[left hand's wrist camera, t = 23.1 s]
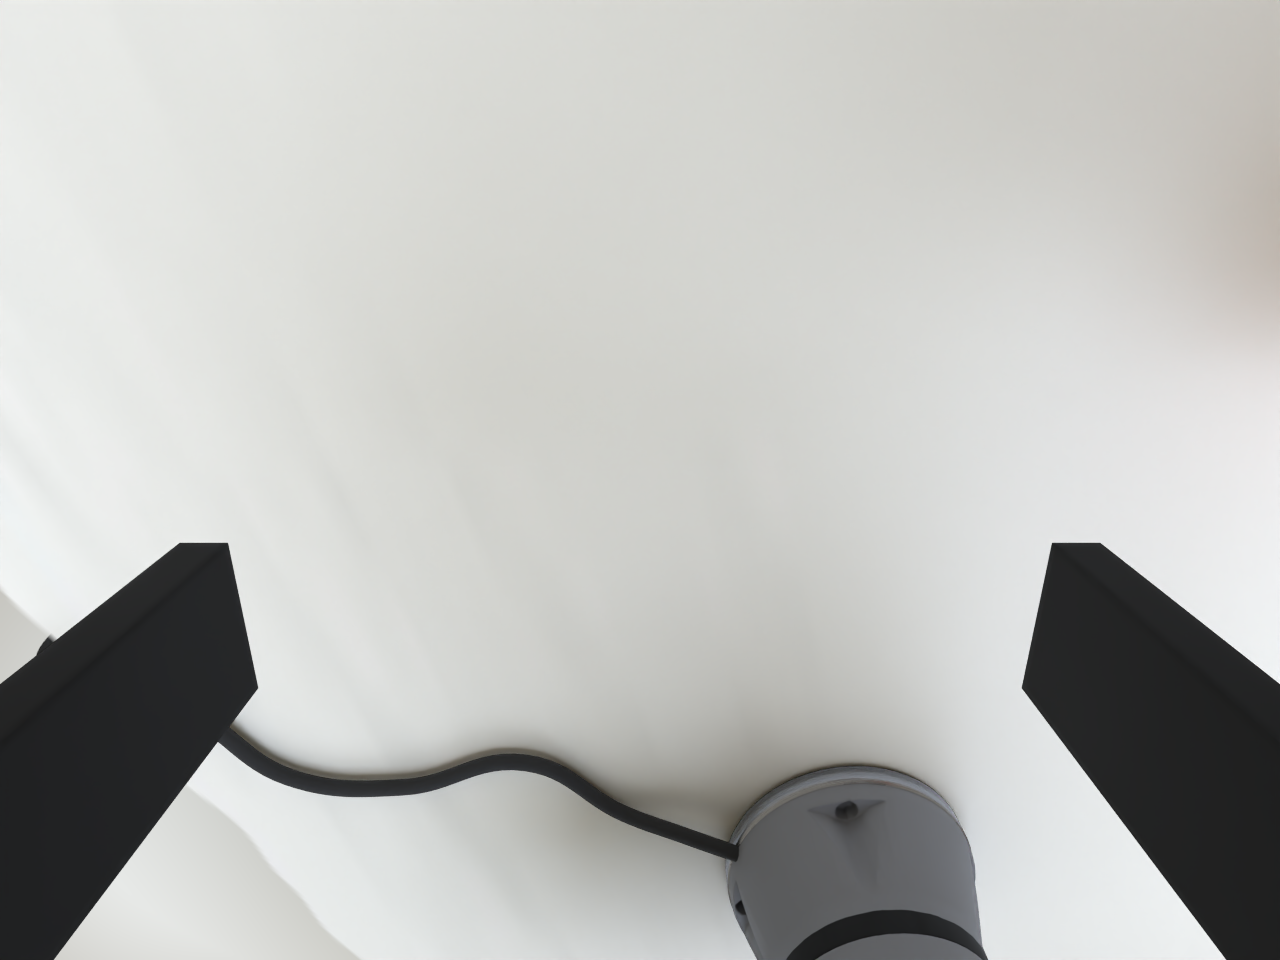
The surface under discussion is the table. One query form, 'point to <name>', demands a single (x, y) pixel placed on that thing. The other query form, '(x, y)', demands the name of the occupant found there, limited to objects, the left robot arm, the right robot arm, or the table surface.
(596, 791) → the left robot arm
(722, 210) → the table surface
